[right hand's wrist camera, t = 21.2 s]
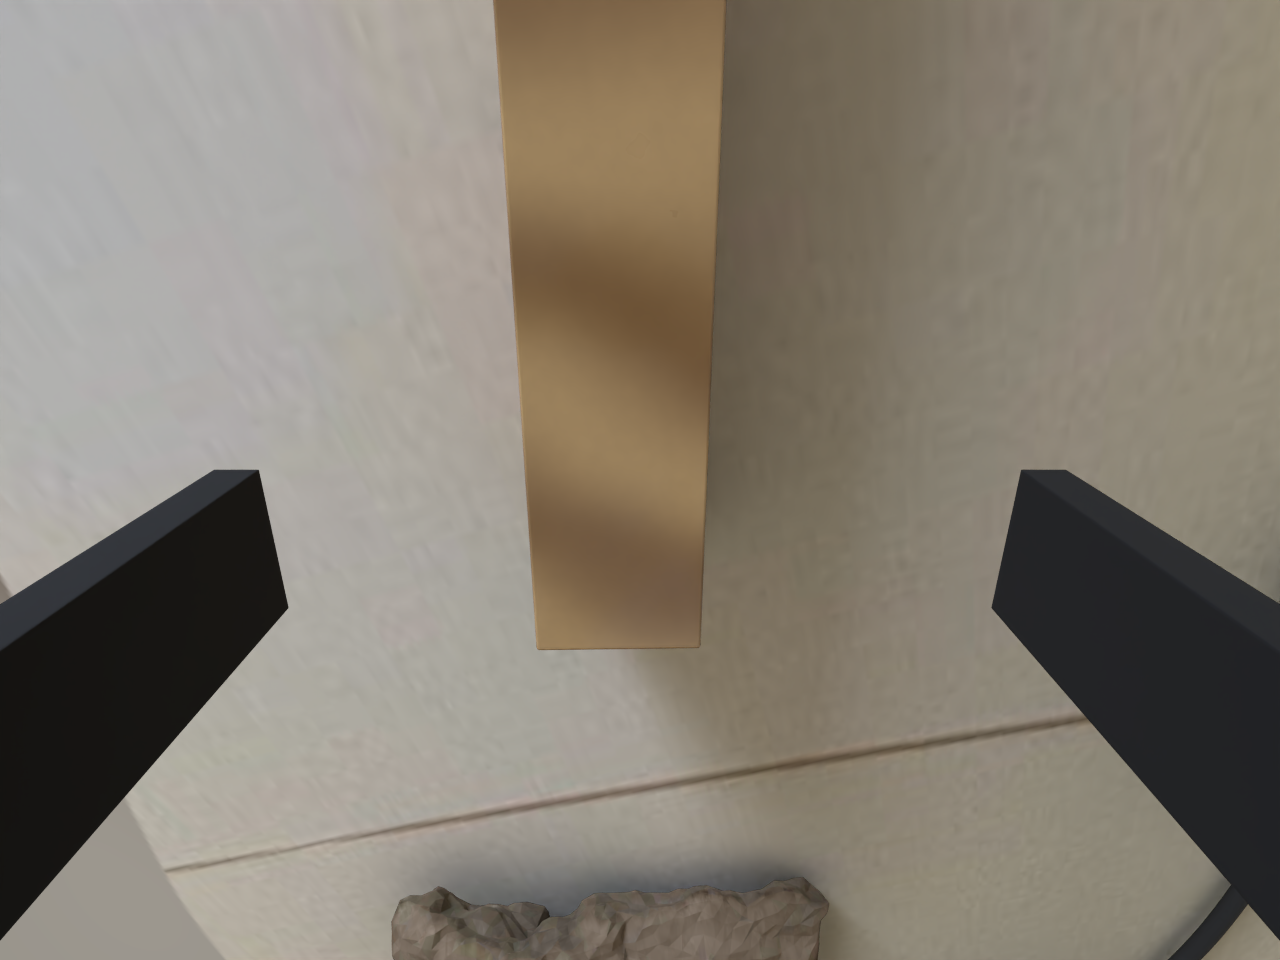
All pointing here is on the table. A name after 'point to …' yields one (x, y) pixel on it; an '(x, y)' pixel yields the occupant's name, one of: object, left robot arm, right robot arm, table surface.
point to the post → (613, 305)
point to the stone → (618, 926)
